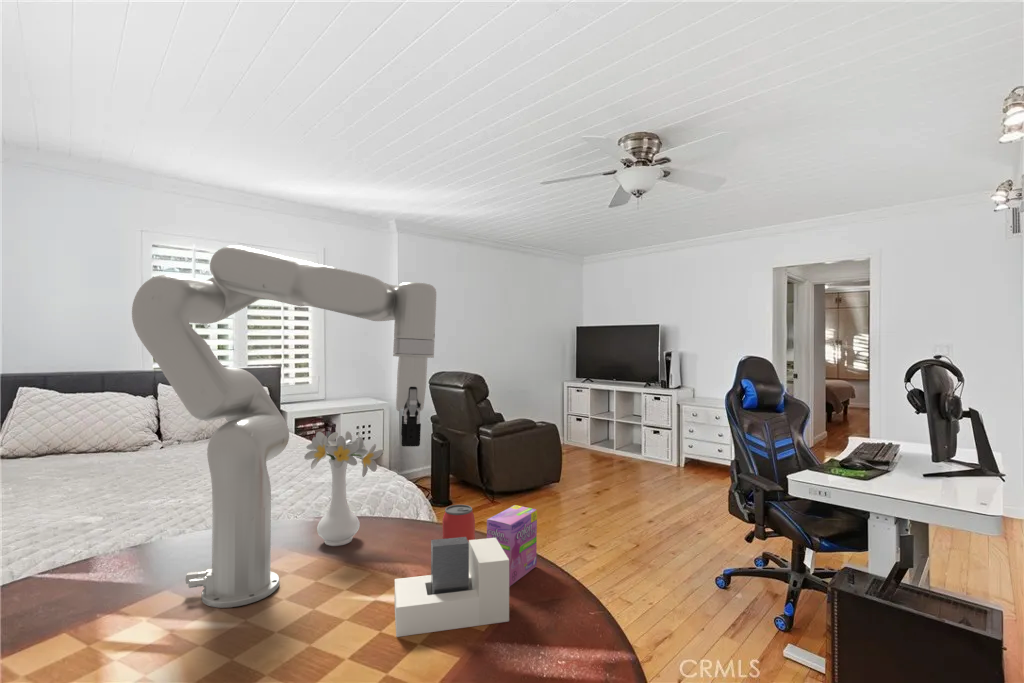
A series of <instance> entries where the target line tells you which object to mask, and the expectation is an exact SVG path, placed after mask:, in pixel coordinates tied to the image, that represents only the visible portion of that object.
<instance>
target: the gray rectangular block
mask: <svg viewBox="0 0 1024 683" xmlns="http://www.w3.org/2000/svg"><path fill="white" fill-rule="evenodd" d="M430 541H431V542H430V546H431V547H430V549H431V550H430V560H431V561H430V575H431V595H434V594H442V593H451V592H459V591H467V590H469V543H468V540H467V538H466V537H458V538H447V539H443V538H438V539H437V538H436V539H431V540H430Z"/></svg>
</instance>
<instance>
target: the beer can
mask: <svg viewBox="0 0 1024 683" xmlns="http://www.w3.org/2000/svg"><path fill="white" fill-rule="evenodd" d="M444 511H445V512H444V514H443V517H442V539H447V538H458V537H466V538H467V540H468V543H469V540H476V518H475V515H474V514H475V513H474V511H473V507H471V506H470V505H467V504H453V505H449V506H447V507H445V509H444Z"/></svg>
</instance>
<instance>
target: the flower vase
mask: <svg viewBox="0 0 1024 683" xmlns="http://www.w3.org/2000/svg"><path fill="white" fill-rule="evenodd" d="M338 435H339V433H338V432H337V431H335V432H332V433H331V434H330V435H329V436H327V435H325V434H324V433H323V432H322V431H318V432H316V433H315V436H313V437H312V440H311V443H310V444H307V445H306V449H307V450H309V451H308V452H307V453H305V455H304V460H306V461H310V460H312V462H310V469H311V470H313V469H314V468H315V467H316V466H317V464H319V462H320V461H321V460H323V459H325V458H326V457H327V456H328V457H330V458H329V459H328V463H329V465H330V471H331V482H332V483H331V497H330V504H329V507H328V510H326V513H325V514H324V515H323V516H322V517H321V519H320V520H319V522H318V524H317V526H316V527H317V528H316V531H317V535H318V536H319V537H320V538H321V539H323V540H324V541H323V542H324V544H325V545H326V546H329V547H339V546H340V547H341V546H344V545H347V544H349V543H351V542H352V541H353V537H354V536H355V535H356V534H357V532H358V531H359V529H360V524H361V523H360V520H359V518H358V516H357V515H356V514H355V513H354V512H353V511H352V510H351V509H350V507H349V506H350V505H349V504H348V500H347V499H348V498H347V484H346V480H347V479H346V478H347V467H348V465H350V466H357V464H358V461H357V459H356V458H359V459H361V462H360V463H361V464H362V473H361V474H362V475H361V476H362V477H363V478H364V477H366V475H367V473H368V470H370V471H371V472H376V471H377V469H378V465H377V462H376V461H375V460H377V459H378V458H379V457H380V456H382V454H383V452H384V450H383V449H378V450H376V449H377V448H376V447H377V444H376V443H374V444H373V445H372V446H371V447H370V448H369V450H368V449H367V447H366V446H365V443H364V439H363V438H362V436H360V433H359V432H358V433H357V438H355V439H354V440H353V435H352V434H351V432H350V431H349V430H347V431H346V432H345V435H344V436H343V435H340V436H338ZM336 439H337V441H336ZM355 457H356V458H355Z"/></svg>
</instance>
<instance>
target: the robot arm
mask: <svg viewBox="0 0 1024 683" xmlns="http://www.w3.org/2000/svg"><path fill="white" fill-rule="evenodd" d="M209 270H210V274H211V276H212V277H210V278H209V279H207V280H203V279H198V278H195V277H194V278H193V277H189V276H186V275H179V274H161V275H156V276H153V277H151V278H149V279H147V281H145V282H143V284H142V285H141V286H140V287H139V289H138V290H137V292H136V294H135V295H134V299H133V301H132V306H131V307H132V308H131V320H132V324H133V328H134V331H135V332H136V334H137V336H138V338H139V340H140V342H141V343H142V344H143V346H144V347H145V349H146V350H147V352H148V353H149V354H150V355H151V357H152V358H153V359H154V361H155V362H156V364H157V365H158V366H159V369H160V370H161V371H162V373H163V376H164V377H165V378H166V380H167V382H168V383H169V385H170V386H171V388H172V389H173V390H174V392H175V393H176V395H177V397H178V398H179V400H180V401H181V402H182V405H183V406H184V407H185V409H186V410H187V411H188V412H189V414H190V415H191V416H192V417H194V419H197V420H200V421H205V422H207V421H208V422H210V421H217V420H221V419H225V420H226V421H227V422H226V423H224V424H222V425H221V426H219V427H218V428H217V429H216V430H215V431H214V432H213V433H212V435H211V437H210V439H209V441H208V443H207V444H208V445H207V448H206V451H207V452H206V453H207V454H206V456H207V463H208V467H209V473H210V481H211V502H212V503H211V504H212V505H211V506H212V507H211V511H212V512H211V513H212V517H211V518H212V519H211V521H212V522H211V525H212V526H211V527H212V528H211V531H212V532H211V539H212V540H211V568H206V570H205V571H204V570H203V571H199V570H198V571H188V572H187V573H186V576H185V584H186V585H187V584H188V589H191V588H198V587H202V588H203V589H202V592H201V598H200V599H201V602H202V603H203V604H204V605H206V606H208V607H212V608H218V609H219V608H220V609H225V608H233V607H234V608H236V607H241V606H246V605H249V604H252V603H256V602H259V601H261V600H264V599H265V598H267V597H268V596H270V595H272V594H273V593H275V591H277V589H278V588H279V586H280V580H281V578H280V576H279V575H278V574H277V573H276V572H274V571H271V566H272V565H271V562H272V560H271V559H272V558H271V554H272V552H271V551H272V550H271V548H272V547H271V546H272V542H271V541H272V540H271V539H272V492H271V491H272V487H271V480H270V476H269V471H268V468H267V466H268V465H267V462H268V461H270V460H272V459H274V458H276V457H277V456H279V455H280V454H281V453H283V451H284V450H285V449H286V447H287V446H288V444H289V439H290V429H289V426H288V423H287V422H286V420H285V418H284V416H283V415H282V413H281V412H280V411H279V409H278V408H277V406H276V404H275V403H274V401H273V399H272V398H271V396H270V395H269V393H268V392H267V391H266V389H265V387H264V386H263V385H262V383H261V381H259V380H258V379H257V377H256V376H255V375H253V374H252V373H251V372H249V371H248V370H245V369H243V368H239V367H226V366H224V365H223V364H222V363H221V362H220V361H219V359H218V358H217V357H216V355H215V353H214V352H213V351H212V349H211V347H210V345H209V344H208V342H206V340H205V339H204V338H203V337H202V336H201V335H200V334H199V333H198V332H197V331H195V329H194V328H193V327H192V326H191V324H199V325H201V324H202V325H205V324H206V325H210V324H214V323H217V322H218V323H219V322H220V321H223V320H225V319H227V318H228V317H230V316H232V315H234V314H235V313H238V312H239V311H242V310H243V309H245V308H246V307H249V306H250V305H252V304H255V303H256V302H257V301H259V300H261V299H267V300H271V301H274V302H275V301H276V302H278V303H279V302H280V303H283V304H287V305H291V306H296V307H313V308H317V309H321V310H325V311H326V310H327V311H331V312H333V313H334V312H335V313H340V314H343V315H347V316H352V317H357V318H360V319H364V320H368V321H372V322H386V321H388V322H389V321H394V327H393V328H394V330H393V352H392V356H393V357H396V358H397V357H398V362H397V364H398V365H397V372H396V395H395V396H396V399H395V400H396V401H395V410H396V411H397V412H400V410H401V409H403V414H402V415H401V432H400V434H401V446H402V447H419V446H421V428H422V424H421V423H420V421H421V412H422V411H424V408H425V400H426V392H427V391H426V388H427V375H428V374H427V373H428V358H430V359H431V358H433V359H434V358H435V340H436V316H437V313H436V312H437V289H436V288H435V287H434V285H431V284H430V283H429V284H428V283H425V282H418V281H417V282H416V281H414V282H413V281H409V282H402V283H400V284H398V285H396V284H395V285H394V284H389V283H386V282H384V281H383V280H380V279H379V278H377V277H374V276H371V275H367V274H363V273H359V272H355V271H350V270H346V269H341V268H338V267H333V266H328V265H323V264H318V263H314V262H312V261H309V260H308V261H307V260H304V259H301V258H300V259H298V258H295V257H289V256H286V255H282V254H277V253H273V252H269V251H265V250H260V249H256V248H251V247H247V246H243V245H227V246H223V247H221V248H219V249H218V250H216V251H215V252H214V254H213V255H212V256H211V259H210V263H209Z"/></svg>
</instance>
